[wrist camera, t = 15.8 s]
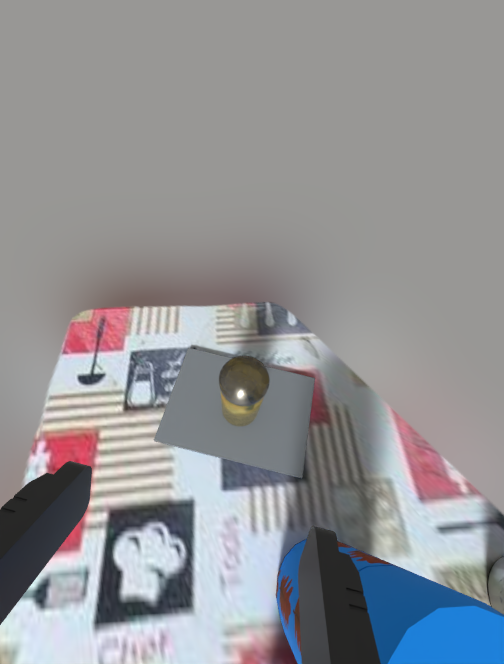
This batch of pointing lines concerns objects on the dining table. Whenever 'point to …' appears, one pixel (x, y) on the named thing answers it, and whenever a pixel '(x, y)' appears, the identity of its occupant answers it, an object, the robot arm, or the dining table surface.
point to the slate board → (239, 441)
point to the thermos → (405, 614)
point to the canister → (242, 389)
